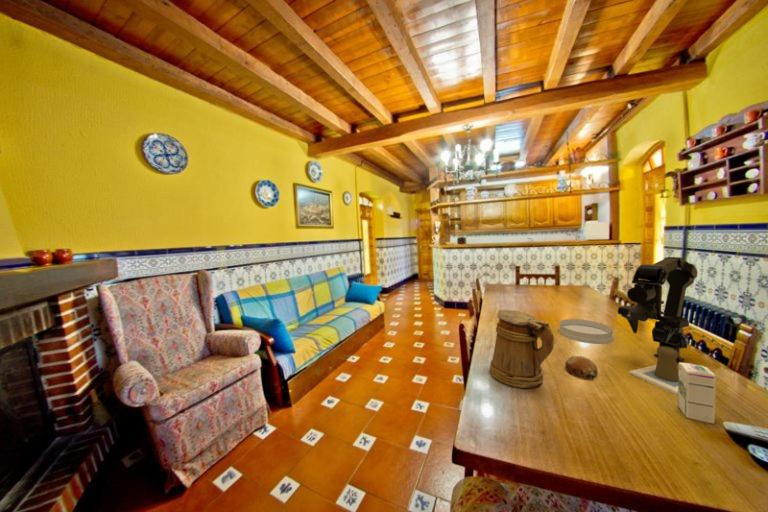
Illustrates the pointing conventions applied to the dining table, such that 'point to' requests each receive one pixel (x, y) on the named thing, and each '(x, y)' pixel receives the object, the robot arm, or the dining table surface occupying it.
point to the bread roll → (581, 367)
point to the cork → (667, 364)
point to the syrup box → (696, 392)
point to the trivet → (655, 379)
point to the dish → (586, 331)
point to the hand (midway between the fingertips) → (649, 337)
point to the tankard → (520, 349)
